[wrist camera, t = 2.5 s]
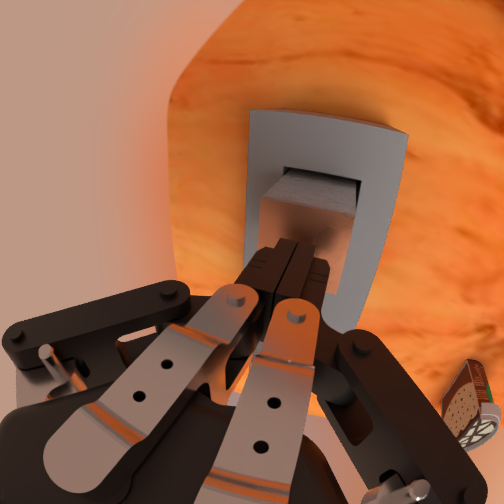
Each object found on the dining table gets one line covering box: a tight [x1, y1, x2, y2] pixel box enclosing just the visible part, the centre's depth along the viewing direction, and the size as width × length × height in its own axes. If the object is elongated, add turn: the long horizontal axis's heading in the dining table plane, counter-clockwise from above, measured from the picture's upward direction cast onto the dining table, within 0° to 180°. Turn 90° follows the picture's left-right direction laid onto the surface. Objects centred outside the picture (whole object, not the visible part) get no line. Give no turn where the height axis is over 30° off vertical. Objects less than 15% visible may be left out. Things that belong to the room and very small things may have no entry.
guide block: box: [243, 109, 408, 334], centre depth 22 cm, size 22×9×8 cm, turn 177°
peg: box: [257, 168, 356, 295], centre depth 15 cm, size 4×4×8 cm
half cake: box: [441, 359, 501, 452], centre depth 23 cm, size 12×6×10 cm, turn 5°
